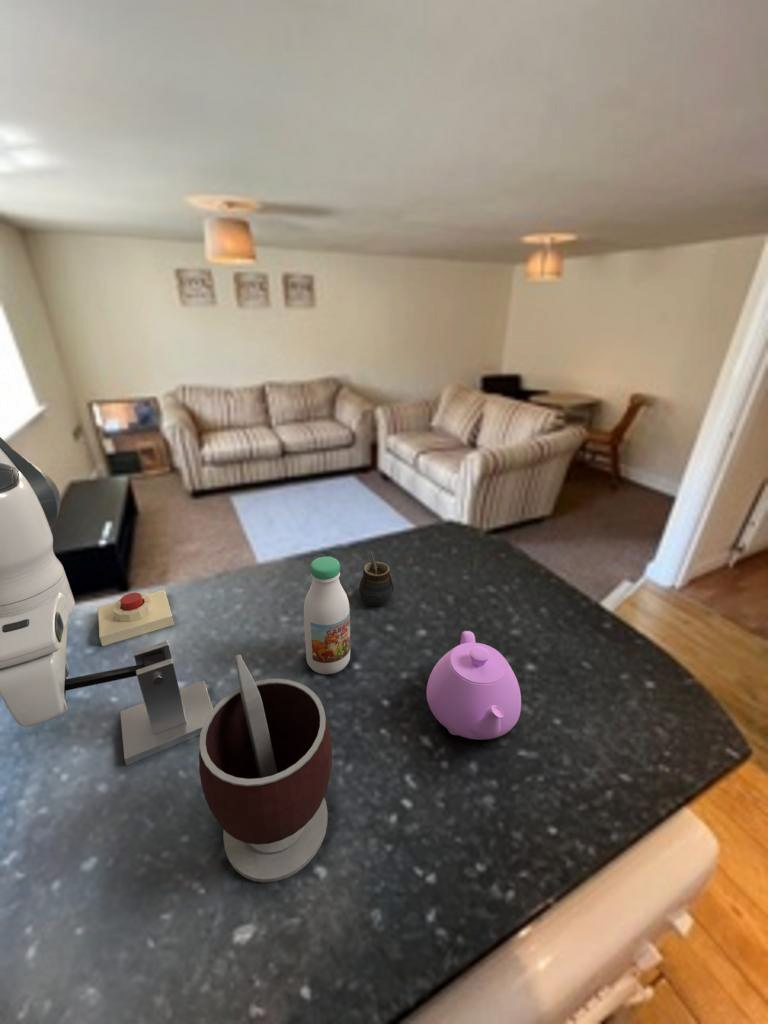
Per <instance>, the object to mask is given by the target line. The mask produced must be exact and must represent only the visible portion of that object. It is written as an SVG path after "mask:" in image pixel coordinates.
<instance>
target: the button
mask: <svg viewBox="0 0 768 1024" xmlns="http://www.w3.org/2000/svg"><path fill="white" fill-rule="evenodd" d="M141 594H142V593H140V592H136V591H135V592H130V593H127V594H124V595H122V596H121V597H120V599H121V600H120V599H119V600H120V602H121V606H122V609H123V610H125V611H131V610H134V609H137V608H139V607H141V606H142V605H143V599H142V595H141Z"/></svg>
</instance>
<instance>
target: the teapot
mask: <svg viewBox="0 0 768 1024" xmlns="http://www.w3.org/2000/svg"><path fill="white" fill-rule="evenodd" d="M426 701H427V704H428V707H429V709H430V711H431V713H432V715H433V716H434V717H435V719H436V720H437V721H438V722H439V723H440V725H442V726H443V727H444V728H446V729H447V731H448V732H449V734H451V735H453V736H460V737H462V738H466V739H468V740H469V739H470V740H478V741H480V740H481V741H482V740H485V741H486V740H492V739H496V738H499V737H502V736H504V735H506V734H508V733H509V732H510V731H511V730H512V729H513V728H514V727H515V726H516V724H517V723H518V722H519V718H520V716H521V711H522V695H521V689H520V685H519V682H518V679H517V676H516V674H515V672H514V670H513V669H512V667H511V665H510V663H509V662H508V660H507V659H506V658H505V657H504V655H503V654H502V653H501V652H500V651H498V650H497V649H495V648H494V647H492V646H490V645H487V644H484V643H481V642H476V636H475V634H474V632H472V631H470V630H464V631H462V633H461V636H460V644H458V645H456V646H455V647H453V648H451V649H450V650H449V651H447V652H446V653H445V654H444V655H443V656H442V657H441V658H440V659H439V660H438V662H437V663H435V666H433V668H432V670H431V673H430V674H429V678H428V680H427V684H426Z"/></svg>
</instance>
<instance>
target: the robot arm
mask: <svg viewBox="0 0 768 1024" xmlns="http://www.w3.org/2000/svg"><path fill="white" fill-rule="evenodd" d="M60 509H61V495H60V491H59V488H58V486H57V485H56V483H55V482H54V480H53V479H52V478H51V476H49V475H48V474H47V473H46V472H45V471H44V470H42V468H40V467H38V466H37V465H36V464H34V463H33V462H32V461H30V460H28V459H27V458H25V456H23V455H22V454H20V453H19V452H18V451H17V450H15V449H14V448H13V447H12V446H10V444H8V443H7V442H6V441H5V440H4V439H3V438H2V437H1V436H0V697H1V700H3V703H4V705H5V706H6V708H7V710H8V711H9V713H10V715H11V716H12V718H13V720H14V721H15V722H16V723H17V724H18V726H21V727H24V728H30V727H34V726H37V725H40V724H43V723H45V722H48V721H52V720H53V719H56V718H58V717H61V716H62V715H64V714H66V713H67V712H68V699H67V697H65V694H64V686H65V670H66V672H67V677H66V679H68V677H69V670H70V667H69V664H68V661H67V643H68V642H67V641H68V639H67V638H68V621H69V618H70V617H69V616H70V615H71V614H72V612H73V610H74V608H75V605H76V601H75V598H74V595H73V592H72V588H71V586H70V582H69V580H68V577H67V574H66V571H65V569H64V566H63V564H62V562H61V561H60V560H59V558H57V556H56V554H55V552H54V536H53V532H52V529H53V528H54V526H55V524H56V523H57V519H58V517H59V513H60Z"/></svg>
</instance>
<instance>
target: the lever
mask: <svg viewBox="0 0 768 1024" xmlns="http://www.w3.org/2000/svg"><path fill="white" fill-rule="evenodd" d="M165 660H167V658H166V653H162V654H157V655H152V656H146V657H143V664H140V665H136V664H135V665H131V666H126V667H125V666H124V667H120V668H116V669H111V670H105V671H101V672H95V673H90V674H89V673H88V674H85V675H81V676H75V677H70V678H68V677H67V672H66V670H65V686H64V694H65V697H66V696H67V691H72V690H76V689H81V688H87V687H91V686H97V685H100V684H105V683H110V682H114V681H120V680H124V679H129V678H133V677H137V674H136V670H138V669H141V668H144V667H147V666H150V665H153V664H156V663H159V662H162V661H165ZM66 677H67V678H66ZM66 698H67V697H66Z"/></svg>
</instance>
